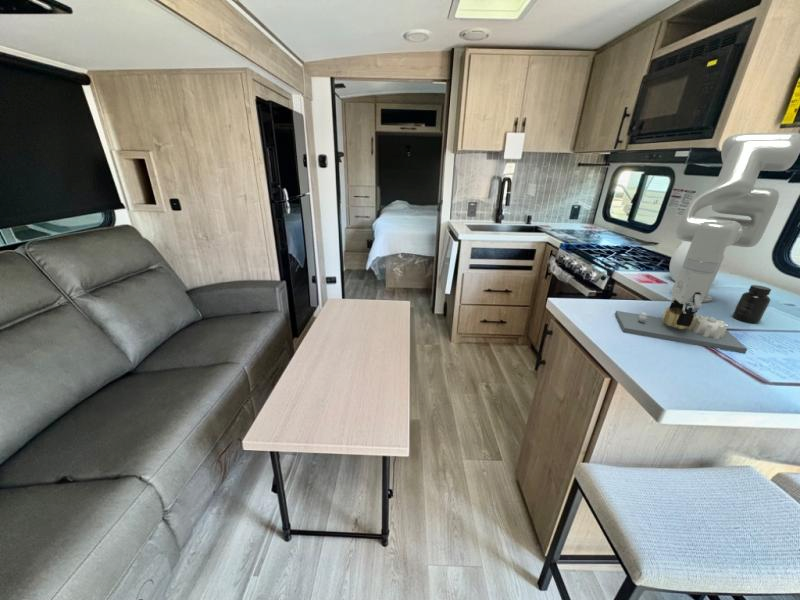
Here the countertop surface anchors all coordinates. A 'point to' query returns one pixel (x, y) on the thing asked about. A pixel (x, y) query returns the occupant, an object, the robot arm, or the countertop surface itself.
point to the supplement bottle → (752, 304)
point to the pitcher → (679, 259)
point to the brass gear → (674, 317)
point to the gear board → (681, 331)
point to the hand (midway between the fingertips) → (678, 319)
